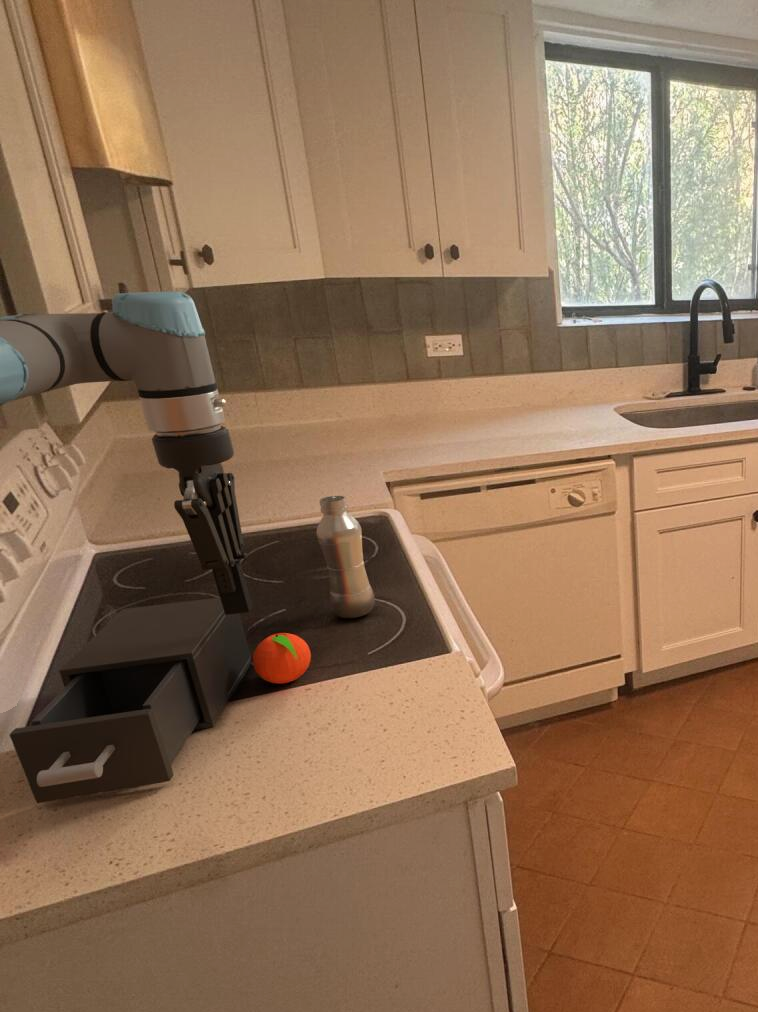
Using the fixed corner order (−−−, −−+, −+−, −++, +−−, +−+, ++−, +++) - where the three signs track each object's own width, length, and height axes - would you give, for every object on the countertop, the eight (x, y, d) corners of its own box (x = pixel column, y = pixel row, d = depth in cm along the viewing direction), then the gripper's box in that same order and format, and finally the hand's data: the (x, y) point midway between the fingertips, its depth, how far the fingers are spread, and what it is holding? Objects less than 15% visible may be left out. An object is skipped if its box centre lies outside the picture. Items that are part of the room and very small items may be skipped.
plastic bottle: (361, 602, 133) (338, 490, 126) (386, 611, 130) (364, 496, 123) (325, 617, 128) (299, 501, 121) (350, 626, 125) (325, 508, 118)
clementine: (329, 678, 110) (319, 632, 107) (279, 700, 104) (267, 653, 102) (299, 663, 114) (288, 619, 111) (249, 684, 108) (237, 638, 106)
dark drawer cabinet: (213, 727, 99) (192, 652, 95) (86, 746, 95) (58, 670, 91) (252, 661, 115) (235, 595, 111) (144, 676, 111) (122, 608, 107)
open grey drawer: (152, 810, 83) (128, 739, 80) (10, 835, 79) (-20, 762, 76) (217, 704, 102) (200, 644, 99) (105, 720, 99) (83, 659, 96)
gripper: (206, 438, 87) (256, 629, 95) (242, 416, 98) (284, 587, 107) (127, 444, 85) (186, 638, 93) (174, 420, 96) (222, 594, 105)
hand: (238, 610), depth 100 cm, fingers closed
